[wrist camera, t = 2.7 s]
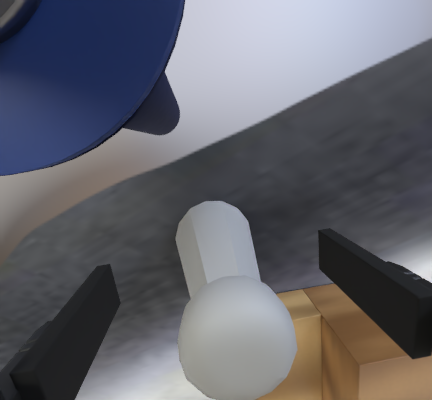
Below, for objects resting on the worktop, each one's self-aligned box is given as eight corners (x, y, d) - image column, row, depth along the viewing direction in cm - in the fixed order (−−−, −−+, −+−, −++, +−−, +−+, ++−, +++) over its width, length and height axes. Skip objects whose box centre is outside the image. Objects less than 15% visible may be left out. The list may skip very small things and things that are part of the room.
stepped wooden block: (232, 301, 22) (253, 387, 14) (387, 273, 23) (487, 340, 15) (244, 392, 25) (267, 504, 17) (380, 364, 26) (460, 459, 18)
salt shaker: (196, 266, 21) (200, 458, 8) (166, 212, 19) (112, 346, 7) (254, 238, 20) (349, 390, 8) (228, 182, 19) (295, 260, 6)
